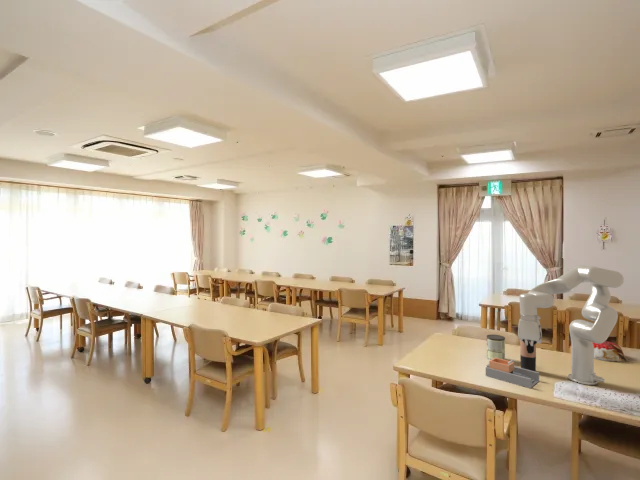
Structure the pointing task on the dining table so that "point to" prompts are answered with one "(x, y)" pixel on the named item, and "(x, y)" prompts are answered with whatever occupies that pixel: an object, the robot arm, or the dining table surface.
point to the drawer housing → (515, 376)
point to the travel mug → (527, 357)
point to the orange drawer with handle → (502, 365)
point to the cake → (608, 352)
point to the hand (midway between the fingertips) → (530, 352)
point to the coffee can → (495, 347)
